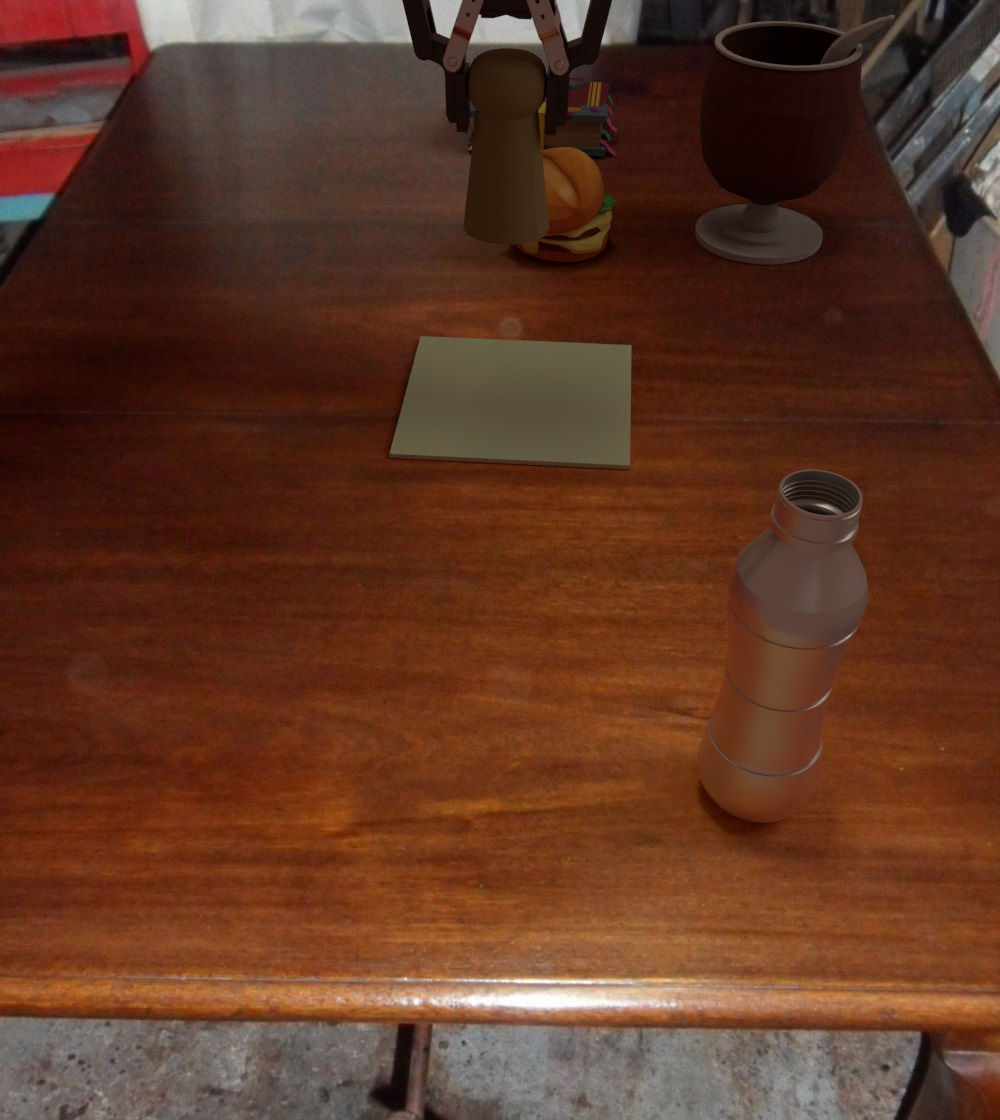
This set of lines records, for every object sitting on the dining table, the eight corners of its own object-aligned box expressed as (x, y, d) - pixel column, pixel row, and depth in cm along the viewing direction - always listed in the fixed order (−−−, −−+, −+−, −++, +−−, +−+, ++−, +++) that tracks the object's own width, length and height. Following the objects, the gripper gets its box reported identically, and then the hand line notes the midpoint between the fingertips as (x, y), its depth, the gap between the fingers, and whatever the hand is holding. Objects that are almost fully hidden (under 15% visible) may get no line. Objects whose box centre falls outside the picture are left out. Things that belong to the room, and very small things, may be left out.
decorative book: (479, 116, 138) (479, 70, 135) (618, 122, 137) (621, 75, 134) (468, 154, 131) (467, 105, 127) (614, 160, 129) (618, 111, 126)
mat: (389, 458, 89) (389, 453, 89) (420, 340, 102) (420, 335, 101) (629, 469, 88) (630, 465, 88) (631, 349, 101) (631, 344, 100)
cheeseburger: (630, 230, 117) (631, 135, 108) (590, 300, 112) (587, 207, 103) (536, 210, 119) (529, 116, 111) (492, 278, 115) (482, 185, 106)
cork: (448, 217, 84) (444, 46, 76) (524, 201, 86) (527, 33, 78) (487, 251, 80) (486, 74, 72) (565, 234, 82) (572, 60, 74)
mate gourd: (673, 257, 113) (699, 22, 99) (700, 200, 122) (727, -23, 108) (839, 279, 110) (890, 39, 95) (853, 218, 119) (902, -8, 105)
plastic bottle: (752, 858, 63) (827, 558, 49) (667, 780, 67) (713, 481, 52) (837, 803, 66) (931, 504, 51) (750, 731, 69) (816, 434, 55)
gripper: (637, -199, 69) (616, 113, 81) (391, -203, 69) (407, 106, 82) (637, -174, 63) (614, 156, 76) (370, -179, 64) (390, 148, 76)
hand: (506, 128), depth 78 cm, fingers closed on cork, 5 cm apart
